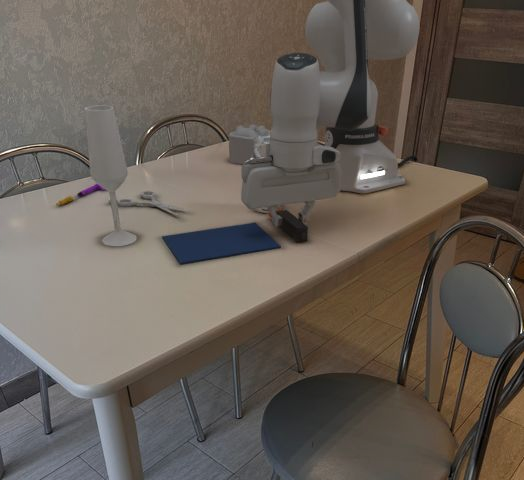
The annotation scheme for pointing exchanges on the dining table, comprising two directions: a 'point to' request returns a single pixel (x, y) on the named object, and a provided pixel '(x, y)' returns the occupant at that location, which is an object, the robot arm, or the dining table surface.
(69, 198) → the purple and yellow rod
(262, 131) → the lumpy-topped squat cylinder
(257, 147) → the beer glass
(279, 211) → the marker
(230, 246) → the mat
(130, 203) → the scissors
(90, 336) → the dining table surface
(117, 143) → the champagne flute
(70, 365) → the dining table surface
